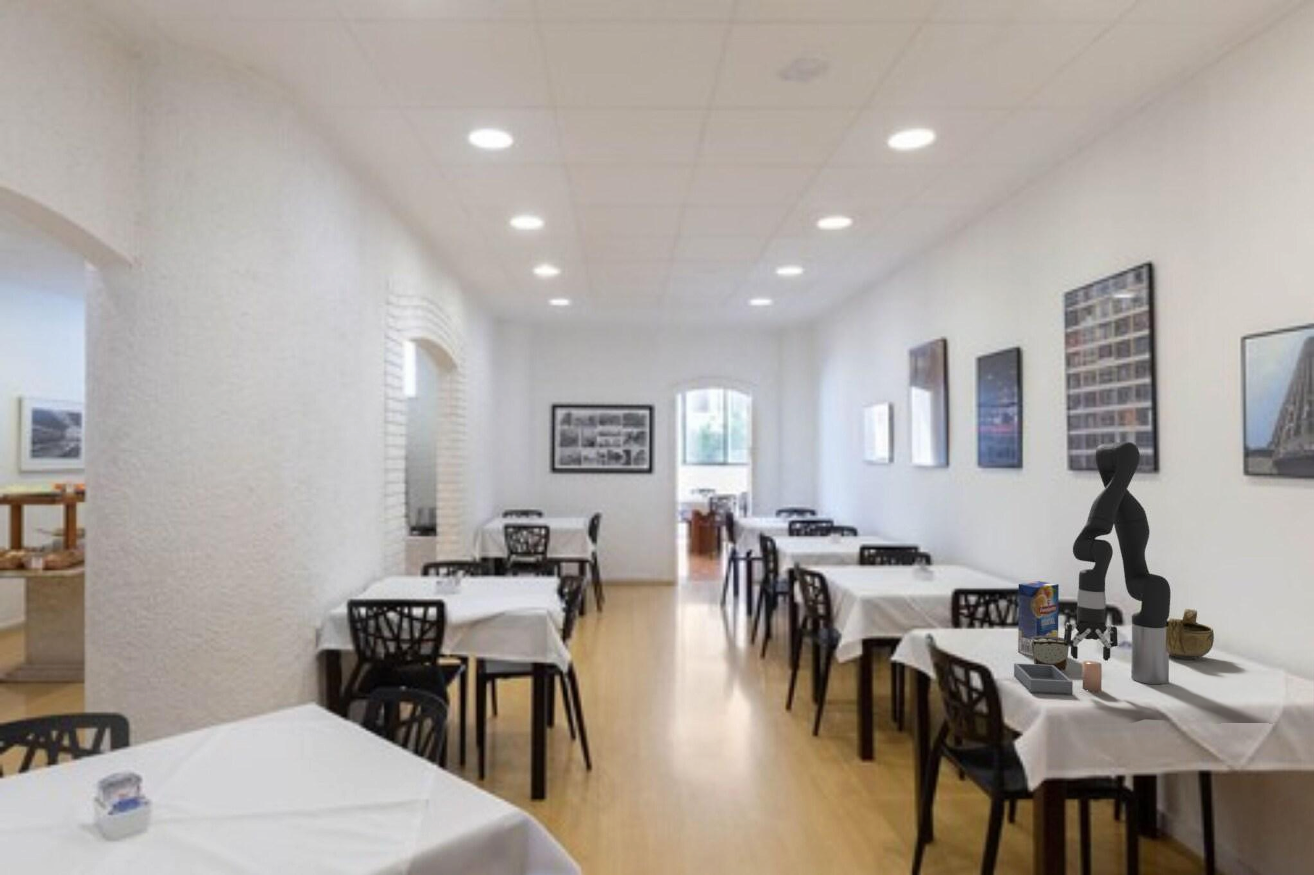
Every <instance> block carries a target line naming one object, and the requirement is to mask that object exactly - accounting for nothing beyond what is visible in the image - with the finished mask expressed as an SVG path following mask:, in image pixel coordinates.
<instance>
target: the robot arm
mask: <svg viewBox="0 0 1314 875" xmlns="http://www.w3.org/2000/svg"><path fill="white" fill-rule="evenodd" d="M1140 459H1141V455H1140V451H1139V448H1138V447H1137V445H1136V444H1134V443H1133V442H1130V441H1129V442H1128V441H1127V442H1126V441H1125V442H1110V443H1108V442H1107V443H1102V444H1100V445H1098V446H1097V447H1096V450H1095V463H1096V467H1097V470H1098V472H1099V476H1100V479H1101V481H1102V484H1103V490H1102V491H1101V492H1100V493H1099V494H1098V496H1096V497H1095V499H1094V501H1093V502H1092V505H1091V507H1090V509H1089V514H1088V517H1087V521H1086V523H1085V525H1084V527H1083V528H1082V529H1081V532H1080V533H1079V534H1078V535H1077V537H1076V538H1075V540H1074V542H1073V545H1072V553H1073V556H1074V558H1075V559H1077V561H1081V562H1090V563H1094V566H1093V568H1091V569H1090V568H1089V569H1087V568H1086V569H1082V570H1080V571H1079V572H1078V573H1079V574H1078V591H1077V601H1076V602H1077V603H1076V604H1077V605H1076V606H1077V607H1076V623H1069V622H1068V621H1067V622H1065V623H1064V634H1063V638H1064V641H1065V642H1066V643H1067V644H1070V645H1071V647H1070V656H1072V658H1073V659H1074V660H1076V659H1078V653H1079V651H1078V650H1079V649H1078V645H1079V644H1080V642H1082V641H1083V640H1084V639H1086V640H1094V641H1098V640H1099V641H1100V642H1101V643H1102V645H1103V646H1102V649H1103V650H1102V659H1103V660H1104V661H1105V662H1106V661H1109V659H1111V649H1112V648H1114V647H1115V648H1116V647H1118V645H1119V642H1118V640H1119V639H1118V627H1117V626H1115V625H1113V624H1110V625H1106V610H1107V609H1106V607H1107V599H1106V577H1107V575H1108V569H1109V566H1110V563H1111V561H1112V558H1113V552H1114V550H1113V546H1112V544H1111V543H1110V542H1109V541H1108V540H1105V539H1097V538H1098V537H1102V536H1107V535H1110V534H1111V533H1112V531H1113V529H1115V534H1116V536H1117V537H1116V538H1117V541H1118V545H1119V546H1118V547H1119V550H1120V554H1121V555H1120V556H1121V560H1122V566H1123V572H1124V573H1123V574H1124V582H1125V587H1126V592H1127V594H1128V595H1129V596H1130V597H1131V598H1132V599H1134V600H1136V601H1139V602H1141V606H1140V607H1141V608H1140V610H1139V612H1134V613H1133V614H1132V615H1131V666H1130V667H1131V671H1130V672H1131V679H1132V680H1134V681H1137V682H1139V683H1145V684H1150V685H1151V684H1152V685H1163V684H1169V683H1170V678H1169V677H1170V655H1169V653H1168V652H1167V651H1166V622H1167V621H1169V618H1170V610H1171V587H1170V586H1171V585H1170V583H1169V581H1168V580H1167V579H1166V578H1165V577H1164V576H1162V575H1158V574H1154V573H1150V571H1149V568H1148V564H1147V560H1146V548H1147V545H1148V542H1149V540H1150V539H1149V538H1150V525H1149V521H1148V517H1147V513H1146V510H1145V509H1144V507H1143V505H1142V504H1141V503H1140V502H1139V501H1138V499H1137V498H1135V496H1134V495H1133V494H1132V493H1131V492H1130V490H1128V488H1129V485H1130V484H1131V482H1132V480H1133V477H1134V475H1135V474H1136V472H1137V470H1138V467H1139V464H1140ZM1075 629H1076V630H1077V632H1076V633H1075V634H1074V637H1072V633H1073V631H1075ZM1106 631H1107V632H1108V634H1109V640H1107V638H1106V637H1105V636H1104V634H1105V632H1106Z"/></svg>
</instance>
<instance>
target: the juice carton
mask: <svg viewBox="0 0 1314 875" xmlns="http://www.w3.org/2000/svg"><path fill="white" fill-rule="evenodd" d="M1059 587H1060V586H1059V583H1052V582H1046V581H1041V580H1038V581H1032V582H1031V581H1030V582H1025V583H1018V598H1017V599H1018V616H1017V618H1018V621H1017V622H1018V625H1017V626H1018V628H1017V630H1018V634H1017V635H1018V636H1017V638H1018V640H1017V643H1018V644H1017V647H1018V649H1017V651H1018V653H1021V654H1023V655H1027V656H1031V657H1034V656H1033V646H1031V645H1030V643H1031V639H1032V637H1035V636H1054V637H1059V592H1060V591H1059V590H1060V589H1059Z"/></svg>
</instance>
